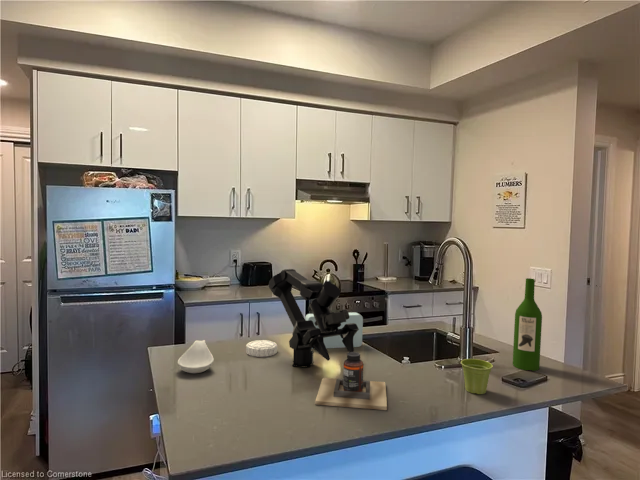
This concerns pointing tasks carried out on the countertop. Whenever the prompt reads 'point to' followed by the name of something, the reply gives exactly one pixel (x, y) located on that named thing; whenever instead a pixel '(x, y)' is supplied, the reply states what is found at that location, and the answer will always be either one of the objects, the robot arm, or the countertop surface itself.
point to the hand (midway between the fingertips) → (341, 357)
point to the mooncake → (261, 348)
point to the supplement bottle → (353, 373)
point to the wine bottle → (527, 331)
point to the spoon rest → (196, 358)
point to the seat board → (352, 395)
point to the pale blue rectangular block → (337, 340)
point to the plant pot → (476, 375)
